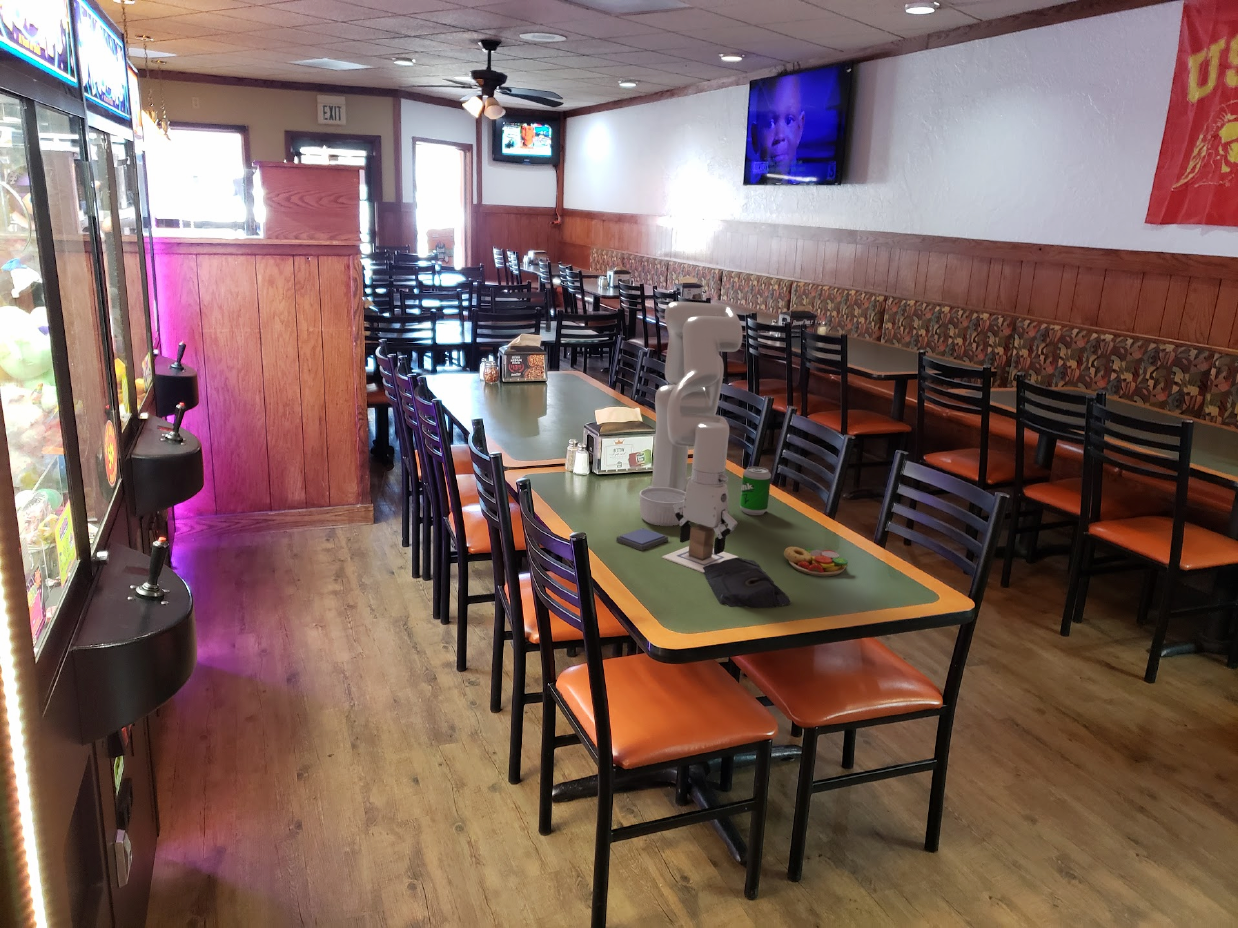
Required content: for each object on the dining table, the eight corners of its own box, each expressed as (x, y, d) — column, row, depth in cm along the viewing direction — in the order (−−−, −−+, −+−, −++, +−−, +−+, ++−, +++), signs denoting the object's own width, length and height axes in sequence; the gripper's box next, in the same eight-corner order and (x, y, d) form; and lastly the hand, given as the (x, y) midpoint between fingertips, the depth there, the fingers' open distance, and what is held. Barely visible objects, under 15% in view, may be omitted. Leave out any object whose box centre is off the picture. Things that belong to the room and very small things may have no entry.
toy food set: (777, 558, 210) (778, 545, 210) (825, 555, 215) (827, 542, 214) (806, 580, 198) (807, 566, 197) (856, 576, 203) (858, 562, 202)
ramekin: (684, 530, 225) (686, 504, 223) (633, 524, 227) (635, 498, 225) (690, 515, 237) (692, 490, 235) (642, 509, 240) (644, 484, 238)
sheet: (697, 543, 216) (697, 542, 216) (738, 557, 208) (738, 556, 208) (661, 557, 205) (661, 556, 205) (703, 572, 198) (704, 571, 198)
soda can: (766, 508, 247) (770, 467, 243) (767, 517, 239) (772, 474, 236) (738, 506, 247) (743, 464, 244) (739, 514, 240) (744, 472, 237)
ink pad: (642, 532, 221) (642, 526, 221) (667, 540, 216) (668, 535, 216) (616, 541, 214) (616, 535, 214) (641, 550, 209) (642, 544, 209)
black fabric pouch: (762, 569, 204) (765, 550, 202) (793, 610, 183) (796, 589, 181) (697, 569, 201) (699, 549, 200) (721, 610, 180) (723, 588, 179)
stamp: (698, 552, 209) (700, 524, 208) (712, 556, 207) (714, 528, 205) (688, 556, 206) (690, 527, 205) (702, 561, 204) (704, 532, 202)
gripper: (749, 482, 199) (741, 553, 204) (687, 465, 210) (681, 533, 214) (730, 488, 193) (723, 561, 198) (667, 470, 204) (662, 540, 209)
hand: (701, 546), depth 206 cm, fingers open, 9 cm apart
